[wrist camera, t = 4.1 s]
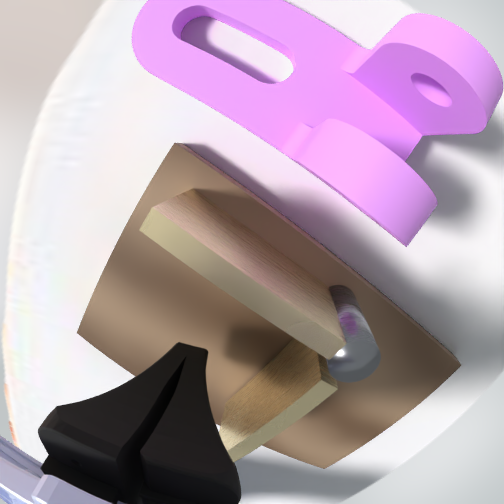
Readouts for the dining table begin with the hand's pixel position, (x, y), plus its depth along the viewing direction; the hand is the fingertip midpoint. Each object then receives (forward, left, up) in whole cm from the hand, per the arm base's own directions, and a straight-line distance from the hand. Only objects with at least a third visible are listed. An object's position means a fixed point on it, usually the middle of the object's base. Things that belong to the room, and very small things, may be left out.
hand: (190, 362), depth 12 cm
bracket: (+12, +4, -3) cm, 13 cm away
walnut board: (+1, -4, -3) cm, 5 cm away
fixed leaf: (+5, 0, -2) cm, 6 cm away
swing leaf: (+1, -4, -2) cm, 4 cm away
